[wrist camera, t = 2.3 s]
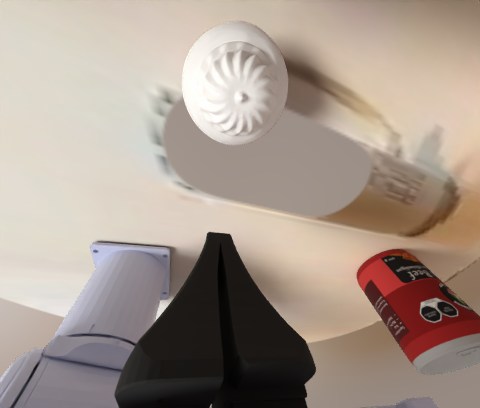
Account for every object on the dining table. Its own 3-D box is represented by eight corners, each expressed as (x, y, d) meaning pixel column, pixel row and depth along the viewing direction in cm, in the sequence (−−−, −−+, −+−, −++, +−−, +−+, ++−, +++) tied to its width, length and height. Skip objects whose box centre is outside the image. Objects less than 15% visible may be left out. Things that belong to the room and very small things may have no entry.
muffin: (262, 137, 17) (286, 172, 11) (187, 125, 16) (169, 155, 10) (284, 45, 13) (335, 24, 8) (192, 21, 12) (169, -26, 7)
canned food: (422, 256, 28) (523, 345, 19) (378, 288, 31) (444, 377, 22) (386, 240, 25) (482, 335, 16) (343, 278, 29) (401, 373, 20)
